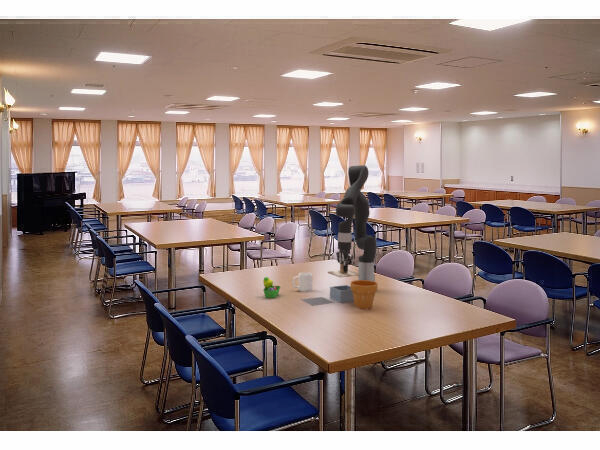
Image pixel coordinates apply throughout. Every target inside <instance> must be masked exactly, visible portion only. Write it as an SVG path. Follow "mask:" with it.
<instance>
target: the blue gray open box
mask: <svg viewBox="0 0 600 450" xmlns="http://www.w3.org/2000/svg"><path fill="white" fill-rule="evenodd" d="M330 299H331V300H333V301H334V302H335V301H336V302H338V303H340V304H341V303H350V302H351V303H352V302H354V298H353V292H352V290H351V285H347V284H343V285H334V286H330V287H329V300H330Z"/></svg>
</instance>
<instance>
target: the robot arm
mask: <svg viewBox="0 0 600 450" xmlns="http://www.w3.org/2000/svg"><path fill="white" fill-rule="evenodd" d="M347 173H348V174H347V175H348V182H349V185H350V186H349V187H348V188H347V189H346V191H345V193H344V195H343V198H342V199H341V200H340V202H339V203H337V206H336V208H335V215H336V216H337V217H339V218H346V220H344V221H343V220H342V221H340V222H339V223H338V234H337V249H338V250H339V251H336V252H335V253H336V258H337V263H339V265H340V264H342V263H344V272H348V270H349V266H350V265H351V264H352V260H353V257H354V256H353V255H352V254H351V252H350V250H352V238H353V237H352V226H353V220H354V222H355V243H356V246H357V248H358V249H360V250H363V254H362V255H360V256H358V264H357V265H358V266H357V267H358V270H357V272H358V274H360V276H358V277H357V280H369V281H374V282H376V278H375V277H376V275H375V273H374V272H375V271H374V270H375V269H374V268H375V266H374V265H375V258H376V255H377V254H376V253H377V240H376V237H374V236H373V235H368V234H367V223H368V219H369V217H370V212H371V211H370V205H369V201H368V199H367V198H366V197H365V195H364V194H363V192H362V188H363V187H364V185H365V183H366V182H367V180H368V178H369V169H368V167H367V165H363V164H362V165H352V166H349V167H348V171H347Z"/></svg>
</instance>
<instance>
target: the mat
mask: <svg viewBox="0 0 600 450" xmlns="http://www.w3.org/2000/svg"><path fill="white" fill-rule="evenodd" d="M300 301H303V302H304V303H306V304H308V305H310V306H311V307H312V306H320V305H328V304H335V303H336V302H335V301H332V300H330V299H327V298H325V297H323V296H318V297H310V298H303V299H300Z"/></svg>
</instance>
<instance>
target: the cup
mask: <svg viewBox="0 0 600 450" xmlns="http://www.w3.org/2000/svg"><path fill="white" fill-rule="evenodd" d="M296 279H298V285H296V284H295V280H296ZM292 286H293V287H294V288H295V289H298V291H299V292H302V293H307V292H308V293H309V292H312V291H313V273H311V272H299V273H298V275H296V276H294V277H293V278H292Z"/></svg>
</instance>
